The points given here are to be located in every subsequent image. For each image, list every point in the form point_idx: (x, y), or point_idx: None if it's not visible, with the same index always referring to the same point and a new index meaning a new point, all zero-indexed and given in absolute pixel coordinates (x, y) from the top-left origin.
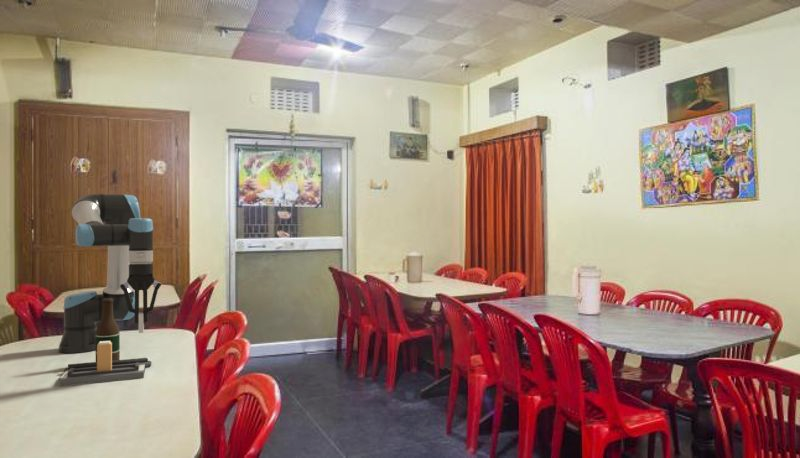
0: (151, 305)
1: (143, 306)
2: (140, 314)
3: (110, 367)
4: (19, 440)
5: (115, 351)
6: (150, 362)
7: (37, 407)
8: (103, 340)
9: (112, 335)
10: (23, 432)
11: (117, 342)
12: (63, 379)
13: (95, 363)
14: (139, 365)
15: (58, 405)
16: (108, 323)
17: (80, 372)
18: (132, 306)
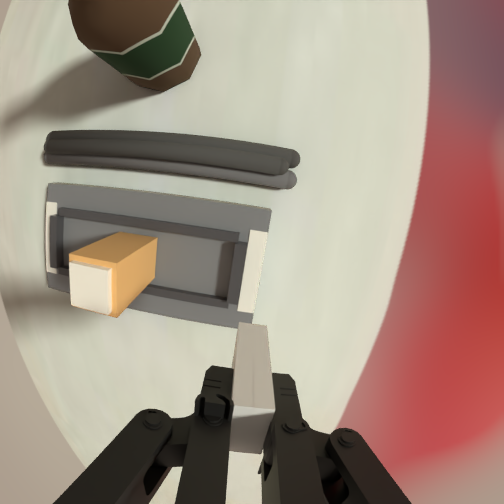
0: (333, 501)
1: (264, 500)
2: (238, 447)
3: (149, 282)
4: None
5: (174, 65)
6: (296, 165)
7: (69, 403)
8: (110, 57)
9: (138, 43)
10: None
11: (174, 42)
12: (54, 288)
13: (109, 153)
14: (249, 229)
15: (96, 414)
16: (96, 11)
17: (78, 230)
18: (157, 450)
